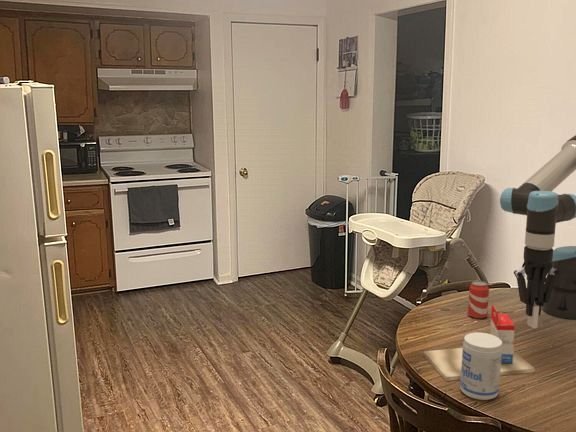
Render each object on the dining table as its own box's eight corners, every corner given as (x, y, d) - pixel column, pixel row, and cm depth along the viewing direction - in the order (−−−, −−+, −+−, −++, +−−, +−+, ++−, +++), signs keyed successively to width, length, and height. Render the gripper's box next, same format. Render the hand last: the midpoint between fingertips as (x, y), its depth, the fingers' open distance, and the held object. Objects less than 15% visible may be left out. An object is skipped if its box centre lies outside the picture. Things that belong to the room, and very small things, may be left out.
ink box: (513, 364, 163) (516, 315, 160) (494, 363, 163) (498, 314, 160) (505, 351, 171) (508, 304, 168) (488, 350, 172) (491, 303, 168)
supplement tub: (453, 393, 150) (456, 340, 147) (468, 379, 157) (471, 328, 154) (490, 405, 144) (494, 350, 141) (504, 390, 151) (508, 338, 148)
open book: (504, 347, 176) (505, 340, 175) (534, 372, 161) (535, 364, 160) (423, 355, 172) (423, 347, 171) (446, 381, 156) (446, 372, 156)
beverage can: (480, 321, 196) (482, 287, 194) (464, 315, 201) (466, 282, 199) (490, 316, 200) (492, 283, 198) (474, 311, 205) (476, 279, 202)
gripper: (552, 242, 166) (545, 319, 171) (510, 244, 164) (504, 322, 169) (568, 248, 159) (560, 329, 164) (524, 251, 157) (518, 332, 162)
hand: (532, 325), depth 166 cm, fingers closed
